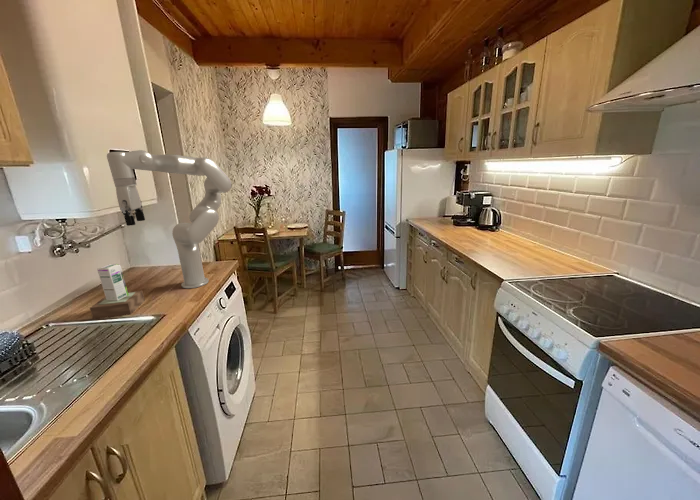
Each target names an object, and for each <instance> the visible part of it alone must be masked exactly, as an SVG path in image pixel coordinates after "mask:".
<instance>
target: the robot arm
mask: <svg viewBox="0 0 700 500" xmlns="http://www.w3.org/2000/svg"><path fill="white" fill-rule="evenodd" d="M106 159H107V162H108V165H109V169H110V173H111V177H112V181H113V184H114V187H115V191H116V199H117V202H118V203H117V204H118V207H119V210H120V211H121V213H122V216H123V218H124V221H125V224H126V226H127V227H129V226H135V225H136V221H137V222H144V221H145V220H146V218H145V215H144V209H143V204H142V200H141V197H140V194H139V191H138V189H137V186H138V185H137V181H136V178H135V174H134V173H135V172H134V170H139V171H140V170H141V171H148V172H149V171H150V172H160V173H166V174H167V173H168V174H179V175H189V176H196V177H197V176H199V177H200V176H206V178H205V179H204V182H203V187H204V192H205V193H204V196H203V198H202V200H200V202H199V203H198V204H197V205H196V206H195V207H193V209H192V210H191V212H190V213H189V217H188V218H189V219H188V220H189V221H190V222H179V223H177V224H175V225H174V226H173V228H172V237H173V238H172V239H173V240H174V243H175V246H176V249H177V254H178V258H179V263H180V268H181V272H182V277H183V282H182V283H181V284H180V285H181V288H183V289H196V288H199V287H203V286H205V285H207V284H208V283H209V278H208V277H205V272H204V268H203V267H204V266H203V262H202V256H201V252H200V251H201V250H200V248H199V247H200V246H199V244H200V243H202V242H203V241H204V240H205V239H206V238H207V237H208V236H209V235H210V233H212V231H213V230H214V229H215V228H216V226H217V225H218V223H219V219H220V215H219V213H218V209H219V207H221V204H222V196H221V195H222V194H223V193H228V192H229V191H230V190H231V189H232V181H231V179H230V177H229V176H228V175H227V174H226V173H225V172H224V170H223V169H222V168H221V167H220V166H219V165H218V163H216V162H215V161H214V160H213V159H212V158H210V157H207V156H206V157H193V156H187V155H186V156H185V155H180V154H169V153H167V154H153V153H149V151H147V150H142V149H139V150H138V149H137V150H131V151H110V152H108V153H106ZM133 211H135V212H134V215H135V217H134V215H133ZM135 219H136V220H135Z"/></svg>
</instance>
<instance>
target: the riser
mask: <svg viewBox="0 0 700 500" xmlns="http://www.w3.org/2000/svg"><path fill="white" fill-rule="evenodd" d="M128 294H129V295H128V296H126V297H124V298H122V299H120V300H118V301H109V300H106V296H105V295H104V297H102V298H101V299H100V300H98V301H97V302H95V304H93V305H92V306H91V307H89V310H90V313H91V316H92V319H93V320H97V319H106V318H111V317H112V318H113V317H123V316H129V315H132V314H133V313H134V312H135V311H136V310H137V309H138V308H139V307H140V306H141V305H142V304H143V303H144V302H145V296H144V293H143V290H136V291H128Z"/></svg>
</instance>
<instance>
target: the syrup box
mask: <svg viewBox="0 0 700 500" xmlns="http://www.w3.org/2000/svg"><path fill="white" fill-rule="evenodd" d="M97 273H98V277H99V280H100V283H101V286H102V290H103V293H104V297H105V296H106V300H109V301H118V300H120V299H122V298H124V297H126V296H128V295H129V294H128V292H129V291H128V288H127V284H126V281H125V277H124V274H123V273H124V272H123V269H122V266H121V264H119V263H110V264H107V265H104V266H102V267H99V268H97Z"/></svg>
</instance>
